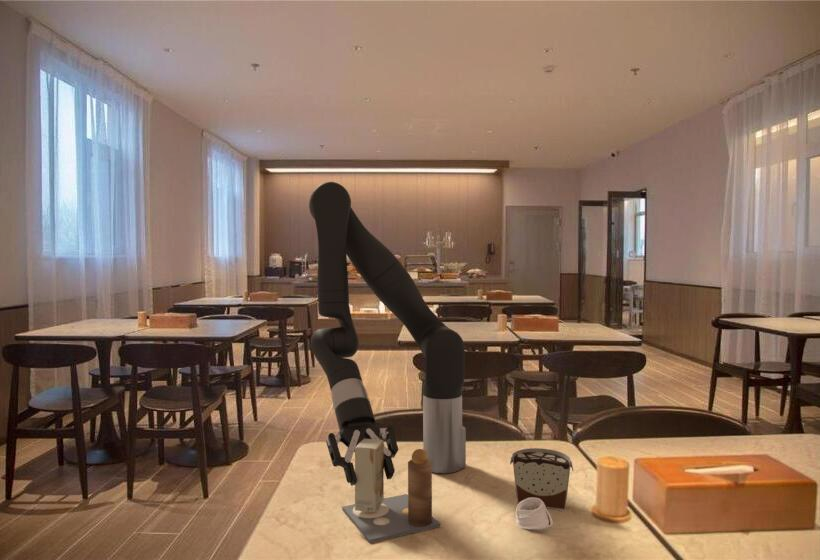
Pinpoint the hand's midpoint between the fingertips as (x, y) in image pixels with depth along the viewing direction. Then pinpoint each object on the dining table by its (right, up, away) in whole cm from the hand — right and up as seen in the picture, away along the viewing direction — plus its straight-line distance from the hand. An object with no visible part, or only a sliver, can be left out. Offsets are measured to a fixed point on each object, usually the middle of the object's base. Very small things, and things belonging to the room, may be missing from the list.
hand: (372, 480), depth 110 cm
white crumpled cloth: (+30, -7, -3) cm, 31 cm away
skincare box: (-1, -6, +2) cm, 6 cm away
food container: (+34, -7, +7) cm, 35 cm away
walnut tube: (+9, -7, -3) cm, 12 cm away
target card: (+3, -7, -1) cm, 8 cm away
